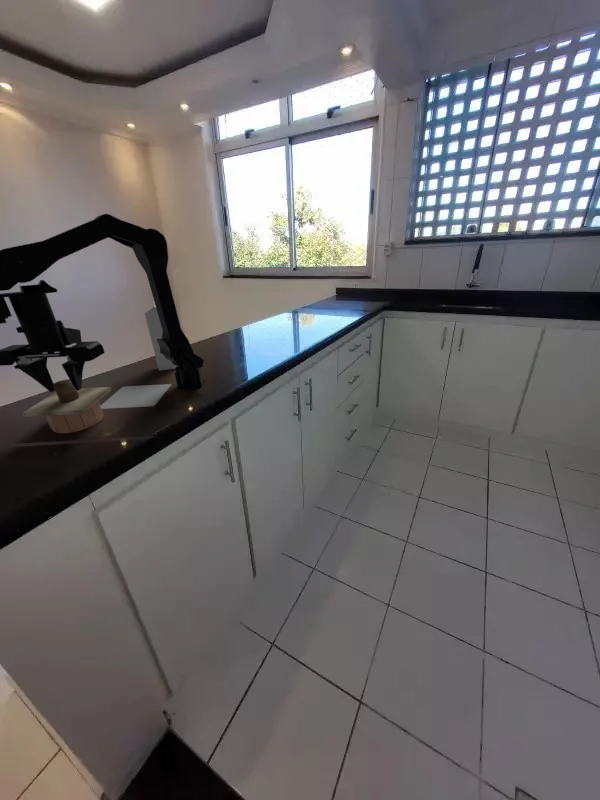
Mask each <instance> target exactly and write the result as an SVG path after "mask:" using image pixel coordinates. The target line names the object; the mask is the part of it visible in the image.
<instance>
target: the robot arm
mask: <svg viewBox="0 0 600 800" xmlns="http://www.w3.org/2000/svg"><path fill="white" fill-rule="evenodd" d="M106 239H111V240H113V241H115V242H117V243H119V244H120V245H121V244H122V245H124V246H126V247H128V248H131V249H132V250H133V254H134V255H135V258H136V260H137V262H138V263H139V264H140V266H141V267H142V269H143V270H144V272H145V274H146V277H147V281H148V283H149V287H150V290H151V295H152V298H153V301H154V302H155V305H156V309H157V313H158V316H159V320H160V323H161V327H162V331H163V333H162V338H159V339H157V342H158V344H159V346H160V353H161V354H163V355H164V357H165V358H166V359H168V360H170V361H171V362H172V363H173V364H174V365H176V366H177V367H176V368H175V369H174V370H175V372H174V377H175V381H176V385H177V387H178V388H177V391H178V390H179V391H181V390H196V389H201V388H202V387H203V385H204V384H205V382H206V379H204V374H203V369H202V368H203V367H204V359H203V358H202V357H200V356H199V355H198V354H196V353H195V352H194V350H193V347H192V345H191V343H190V341H189V339H188V337H187V336H186V335H185V333H184V331H183V330H182V327H181V323H180V319H179V316H178V311H177V308H176V303H175V299H174V295H173V292H172V291H173V290H172V287H171V283H170V279H169V276H168V263H169V250H168V242H167V239H166V236H165V235H164V234H162V233H161V232H160V230H158V229H155V228H144V227H141V226H139V225H136V224H135V223H134V224H133V223H131V222H128V221H125V220H123V219H120V218H118V217H116V216H114V215H112V214H110V213H105V214H100V215H97V216H96V217H95V218H94V219H92V220H89V221H87V222H85V223H82V224H80V225H77V226H74V227H72V228H70V229H67V230H65V231H63V232H61V233H58V234H56V235H54V236H52V237H48V238H47V239H43V240H42V241H41V240H40V241H36V242H31V243H27V244H26V243H25V244H20V245H16V246H12V247H7V248H3V249H0V292H1V291H2V292H3V291H10V290H12V288H13V287H15V286H16V285H17V284H24V285H20V286H19V289H20V291H13V292H11V291H10V292H3V293H2V292H1V293H0V325H1V324H7V320H6V319H9V317H12V314H11V310H10V308H9V307H8V304H7V302H6V299H5V298H8V300H9V302H10V304H11V307H12V309H13V311H14V314H15V316H16V317H17V321H18V323H19V325H20V326H16V327H15V329H16V332H17V334H24V336H25V339H26V342H27V343H28V344H27V343H26V344H12V345H9V346H7V347H4V348H1V349H0V366H2V367H3V366H12V365H14V364H15V365H14V366H13V367H14V369H16V370H20V371H22V372H23V373H25V374H26V375H27V376H29V377H30V378H31V379H33V380H34V381H36V382H37V383H39V384H40V385H41V386H42V387H43V388H45V389H46V390H47V391H49V392H50V393H54V391H55V388H54V386H53V384H54V383H55V382H53V379H52V376H51V374H50V371H49V369H48V365H47V363H48V358H64V357H66V360H67V361H66V362H63V363H61V366H62V369H63V370H64V372H65V373H66V375H67V378H68V379H70V381H71V382H72V384H73V386H74V387H75V389H76V390H77V391H79V390H81V388H83V373H84V372H83V371H84V365H85V364H86V362H91V361H93V360H95V359H97V358H99V357H100V356H102V355H104V354H105V348H104V346H103V344H102V343H100V342H99V341H98V340H93V341H90V340H89V341H82V335H81V330H80V329H76V328H72V327H71V328H70V327H65V326H64V324H63V322H62V321H61V320H59V319H58V320H57V319H56V317H55V315H54V314H55V313H54V312H53V309H52V305H51V303H50V301H49V299H48V296H47V294H52V293H53V294H54V293H57V292H58V289H57V288H56V287H53V286H52V285H50V284H48V282H46V281H45V280H44V279H40V280H39V282H38V283H37V284H28V285H27V284H26V285H25V283H29V282H32V281H33V280H35V279H37V278H38V277H39V276H40V275H42V274H44V272H46V271H47V270H49V268H50V267H52V266H53V265H54V264H55V263H56V262H58V261H60V260H61V259H63V258H65V257H68V256H70V255H73V254H74V253H77V252H79V251H81V250H83V249H86V248H87V247H90V246H93V245H94V244H96V243H99V242H101V241H103V240H106ZM73 344H74V345H73ZM67 346H68V347H67ZM55 392H56V391H55Z"/></svg>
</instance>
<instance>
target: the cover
mask: <svg viewBox="0 0 600 800" xmlns="http://www.w3.org/2000/svg"><path fill="white" fill-rule="evenodd" d="M53 383H54V384H53V386H54V388H55V392H52V394H50V395H48V396H47V397H45V398H44V399H42V400H41V401H39V402H37V403H36V404H33V406H31V407H29V408H28V409H27V410H25V411H24V412H21V415H22V417H24V418H25V417H27V418H28V417H45V416H48V415H66V414H83V413H84V412H85V411H87V410H88V409H89V408H90V407H91V406H93V405H94V404H95V403H96V402H98V401H100V400H102V398H104V397H105V396H106V395H107V394H109V393H110V392H111V391H112V387H111V386H104V387H103V386H102V387H88V388H87V387H86V388H84V387H82V388H81V390H79V391H77V390H76V389H75V387H74V386H73V384H72V382H71V381H70V379H69V378H68V379H61V380H58V381H56V382H53Z"/></svg>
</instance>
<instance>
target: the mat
mask: <svg viewBox="0 0 600 800" xmlns="http://www.w3.org/2000/svg"><path fill="white" fill-rule="evenodd" d="M171 386H172V383H168V384H167V383H165V384H151V385H150V384H148V385H147V384H146V385H130V386H129V385H126V386H122V387H120V389H118V390H117V391H116V392H115V393H114V394H113V395H111V396H110V397H109V398H108V399H106V401H104V403H102V404H100V406H101V409H102V410H106V409H107V410H108V409H126V408H143V407H145V408H146V407H155V405H157V403H158V402H159V401H160V399H161V398H162V397H163V396H164V394H165V393H166V392H167V391H168V390H169V388H170V387H171Z"/></svg>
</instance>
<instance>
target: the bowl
mask: <svg viewBox="0 0 600 800" xmlns="http://www.w3.org/2000/svg"><path fill="white" fill-rule="evenodd" d="M99 401H100V400H99ZM99 401H98V402H96V403H95V404H94V405H93V406H91V407H90V408H89V409H88V410H87V411H85V412H84V413H83V414H66V415H48V416H44V417H45V419H46V421H47V423H48V425H49V427H50V429H51V430H52V431H53V432H54V433H58V434H69V433H75V432H79V431H83V430H85V429H88V428H90V427H93V426H94V425H96V424H97V423H99V422H101V420H103V418H104V413H103V409H101V404H100V402H99Z"/></svg>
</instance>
